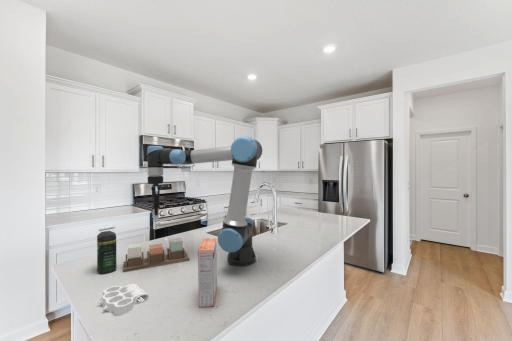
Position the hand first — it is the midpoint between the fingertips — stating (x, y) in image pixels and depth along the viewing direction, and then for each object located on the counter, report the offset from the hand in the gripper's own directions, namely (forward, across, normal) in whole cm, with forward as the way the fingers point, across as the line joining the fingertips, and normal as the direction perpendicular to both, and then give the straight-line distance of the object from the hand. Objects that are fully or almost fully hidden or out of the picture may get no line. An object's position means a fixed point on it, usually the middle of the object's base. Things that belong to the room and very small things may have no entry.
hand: (156, 221), depth 125 cm
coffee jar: (+22, -2, -22) cm, 31 cm away
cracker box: (+22, +44, +15) cm, 52 cm away
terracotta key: (+19, 0, 0) cm, 19 cm away
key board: (+22, 0, 0) cm, 22 cm away
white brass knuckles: (+23, +33, -15) cm, 42 cm away
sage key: (+18, 0, +10) cm, 20 cm away
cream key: (+17, 0, -10) cm, 20 cm away
